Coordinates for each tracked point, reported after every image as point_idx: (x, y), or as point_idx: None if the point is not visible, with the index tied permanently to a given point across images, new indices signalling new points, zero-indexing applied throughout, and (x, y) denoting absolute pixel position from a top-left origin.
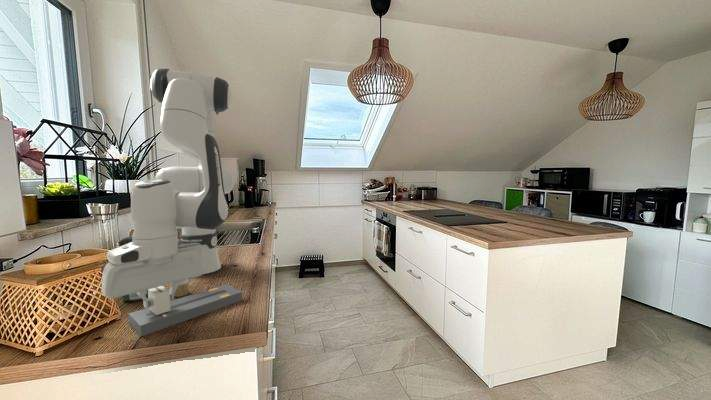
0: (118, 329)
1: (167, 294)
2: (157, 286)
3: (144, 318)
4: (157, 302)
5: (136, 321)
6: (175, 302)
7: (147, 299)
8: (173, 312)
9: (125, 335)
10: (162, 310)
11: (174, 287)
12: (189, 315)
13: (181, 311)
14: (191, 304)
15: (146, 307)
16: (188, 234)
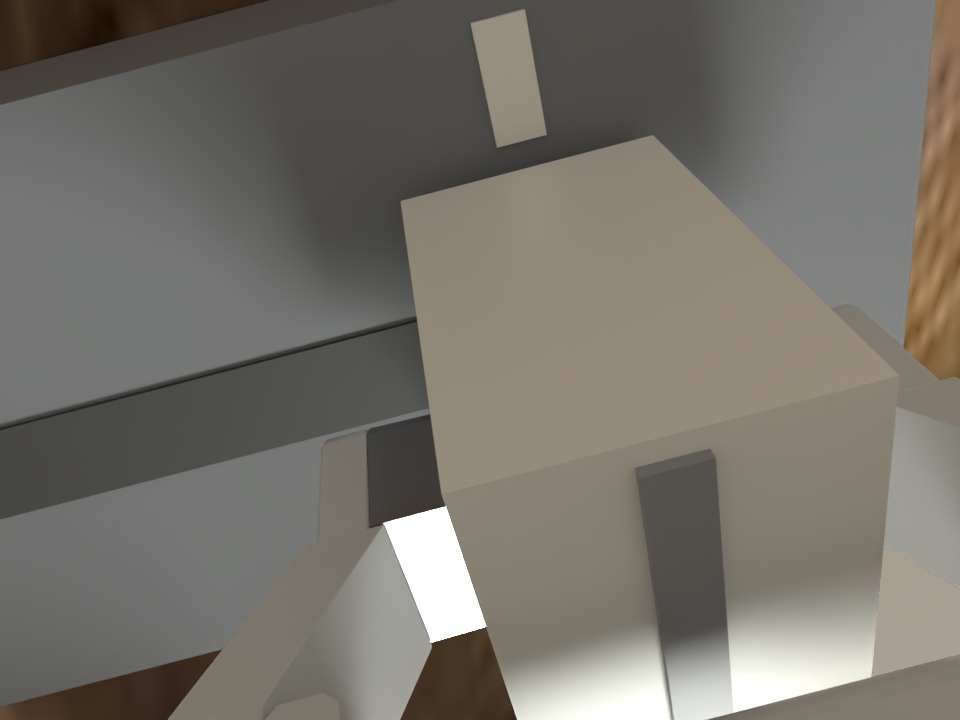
0: (939, 303)
1: (493, 398)
2: (895, 684)
3: (799, 175)
4: (710, 256)
5: (922, 124)
6: (307, 533)
7: (922, 407)
8: (348, 138)
9: (948, 69)
10: (550, 187)
11: (284, 685)
12: (75, 62)
13: (195, 86)
14: (20, 327)
15: (842, 305)
16: None
